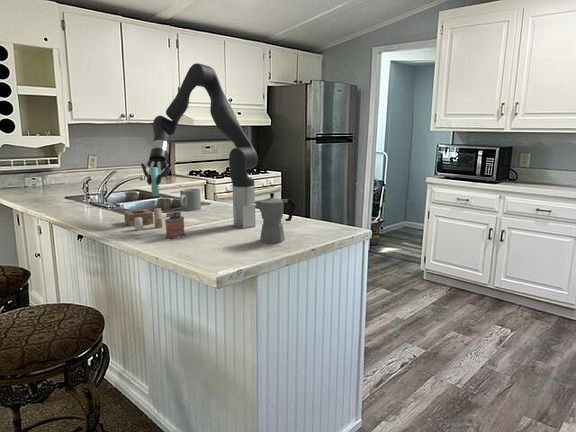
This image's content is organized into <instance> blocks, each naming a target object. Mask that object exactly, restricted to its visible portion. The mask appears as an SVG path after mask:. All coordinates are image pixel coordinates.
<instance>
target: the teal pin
mask: <svg viewBox="0 0 576 432" xmlns="http://www.w3.org/2000/svg"><path fill="white" fill-rule="evenodd" d="M150 170H151V196H152V197H157V196H158V197H159V196H160V189H159V188H160V186H159V185H160V184H159V185H157V183H156V181H157V176H158V168H157V167H151V168H150Z"/></svg>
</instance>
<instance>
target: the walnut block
mask: <svg viewBox="0 0 576 432" xmlns="http://www.w3.org/2000/svg"><path fill="white" fill-rule="evenodd" d="M123 217H124V223H125V224H126V225H127V226H129V227H130V228H131V227H135V218H138V217H141V218H142V222H143V226H147V225H155V222H154V212H152V211H150V210H149V209H147V208H145V209H135V210H134V209H133V210H124V211H123Z"/></svg>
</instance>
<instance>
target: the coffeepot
mask: <svg viewBox="0 0 576 432" xmlns="http://www.w3.org/2000/svg"><path fill="white" fill-rule="evenodd" d="M274 196H275V192H270V193H269V197H268V198H265V199H260V200H255V202H254V203H255V206H256V207H258V210H259V212H260V214H261V219H262V224H261V225H262V226H261V233H260V239H259V240H260V242H262V243H264V242H267V243H266V244H280V243H279V242H281V243H283V242H284V241H285V240H286V238H285V233H284V232H285V231H284V226H283V223H282V219H283V217H284V208H285V205H291V206H290V209H289V210H290V211H289V213H288V218H284V220H285V222H291V221H292V219H293V216H294V213H295V210H296V207H297V203H296V202H295V201H294V200H293V199H292V198H287V199H286V198H283V199H281V198H277V197H274ZM282 241H283V242H282Z"/></svg>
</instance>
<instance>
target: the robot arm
mask: <svg viewBox="0 0 576 432" xmlns="http://www.w3.org/2000/svg"><path fill="white" fill-rule="evenodd" d="M196 87H202V88H204V89H205V91H206V92H207V95H208V96H209V99H210V107H209V111H210V115H211V119H212V120H213V121H214V124H215V126H216V127H217V129H218V130H219V131H220V132H221V134H223V135H224V136H225V137H227V138H228V140H230V141H231V142H232V143H233V144H234V146H235V148H234V147H233V148H232V149H231V150H230V152H229V156H228V163H229V164H228V167H229V177H230V180H231V183H232V186H231V187H232V215H233V226H234V227H235V228H242V229H246V228H253V227H256V226H257V224H256V220H257V218H256V204H255V203H254V202H255V201H256V200H255V195H256V194H255V178H252V177H250V176H248V173H247V170H250V169H254V168H255V167H257V166H258V162H259V158H258V154H257V151H256V150H255V149H256V148H254V145H253V144H252V143H251V141H250V139H248V136H247V135H246V134H245V131H244V130H243V128H242V126H241V125H240V123H239V122H240V121H239V120H238V119H237V116H236V114H235V112H234V110H233V108H232V106H231V105H230V102H229V101H228V98H227V96H226V94H225V92H224V90H223V88H222V86H221V83H220V80H219V78H218V75H217V73H216V71H215V69H214V68H213V67H211V66H209V65H206V64H202V63H197V62H196V63H193V64H192V65H191V66H190V67H189V69H188V71H187V72H186V74H185V76H184V78H183V81H182V83H181V85H180V87H179V89H178V92H177V94H176V95H175V97H174V99H173V100H172V101H171V103H170V104H169V106H168V107H167V108H166V109H165V115H166V116H167V117H165V116H163V115H157V116H155V117H154V119H153V122H152V130H153V134H154V135H153V136H154V137H153V143H152V145H151V150H150V154H149V158H148V161H147V163H141V164H140V167H141V168H142V172H143V175H144V177H146V178H147V179H146V182H147V184H148V185H149V186H150V185H151V170H150V168H151V167H157V168H158V176H157V181H156V183H157V185H161V183H162V179H163V178H167V176H168V175H169V174H170V173H171V172H172V170H173V166H172V163H168V162H167V161H168V157H169V154H170V152H169V151H170V143H171V136H173V135H174V134H175V133H176V130H177V128H178V124H179V122H180V120H181V118H182V116H183V115H184V114H185V113H186V111H187V110H188V107H189V104H190V96H191V93H192V91H193V90H194V89H195V88H196ZM147 169H148V171H147Z"/></svg>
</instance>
